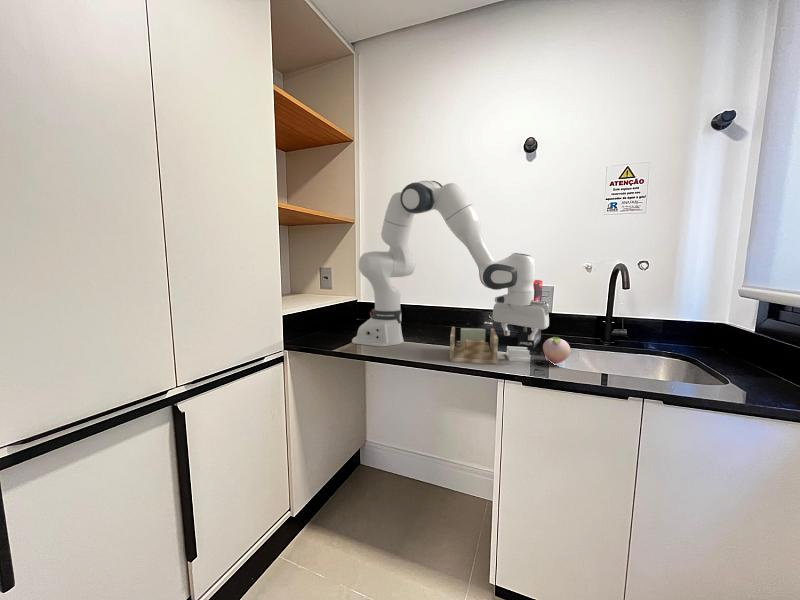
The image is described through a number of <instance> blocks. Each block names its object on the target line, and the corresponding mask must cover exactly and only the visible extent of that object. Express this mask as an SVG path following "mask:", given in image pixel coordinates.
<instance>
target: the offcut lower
mask: <svg viewBox="0 0 800 600" xmlns="http://www.w3.org/2000/svg"><path fill="white" fill-rule="evenodd" d="M464 358H468V359H482V351H476V350H466V348H465V350H464Z"/></svg>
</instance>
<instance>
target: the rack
mask: <svg viewBox="0 0 800 600" xmlns="http://www.w3.org/2000/svg"><path fill="white" fill-rule="evenodd" d="M449 337H450V339H449V340H450V341H449V343H450V344H449V362H454V363H455V362H456V363H469V364H470V363H473V364H488V365H498V354H499V353H498V348H499V337H498V335H497V332H496V330H495V328H490V342H485V345H484V351H482V359H468V358H464V350H465V344H460V342H461V340H456V327H455V326H451V330H450V335H449ZM455 344H456V345H455Z"/></svg>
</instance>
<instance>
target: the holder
mask: <svg viewBox="0 0 800 600" xmlns="http://www.w3.org/2000/svg"><path fill="white" fill-rule="evenodd" d="M505 352H506V353H505V355H506V358H507V360H508V361H509V362H522V363H523V362H524V363H531V358H530V355H531V353H530V352H531V351H530V349H529V350H528V348H527V347H518V346H509V345H507V346H506V351H505Z"/></svg>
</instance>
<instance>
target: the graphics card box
mask: <svg viewBox="0 0 800 600" xmlns="http://www.w3.org/2000/svg"><path fill="white" fill-rule="evenodd" d="M533 287H534V301H539V302H543V280H540V279H535V281H534V284H533ZM539 305H540V304H539ZM517 327H518V331H517V347H527V349H535V348H536V346H537V345H538V344H539V342H540V341H541V338H542V335H541V333H542V329H538V331H537V333H536V334H535V335H534V340H528V335H530V334H531V333H532V332H533V331H531V327H525V326H519V325H517Z"/></svg>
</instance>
